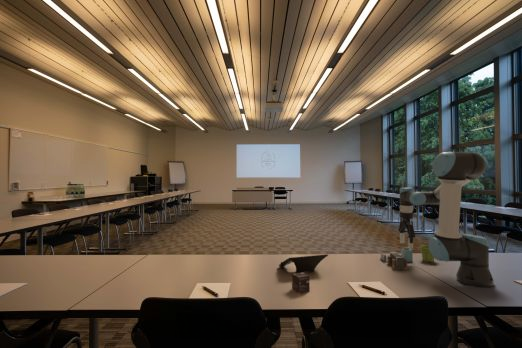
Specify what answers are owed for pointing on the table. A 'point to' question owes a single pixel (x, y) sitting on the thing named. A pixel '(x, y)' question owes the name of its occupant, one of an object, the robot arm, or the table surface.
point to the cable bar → (397, 260)
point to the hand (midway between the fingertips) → (406, 245)
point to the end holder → (384, 257)
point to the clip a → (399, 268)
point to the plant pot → (426, 254)
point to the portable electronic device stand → (304, 262)
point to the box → (300, 282)
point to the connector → (407, 254)
